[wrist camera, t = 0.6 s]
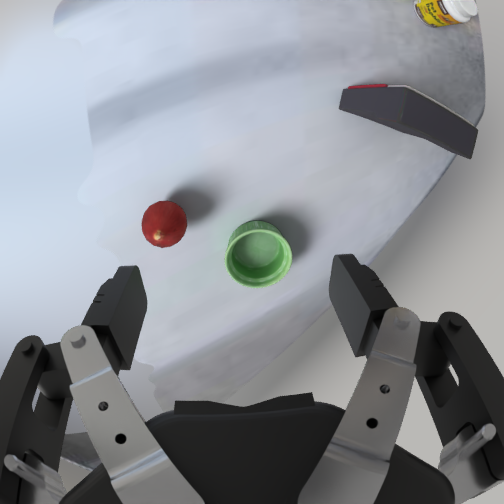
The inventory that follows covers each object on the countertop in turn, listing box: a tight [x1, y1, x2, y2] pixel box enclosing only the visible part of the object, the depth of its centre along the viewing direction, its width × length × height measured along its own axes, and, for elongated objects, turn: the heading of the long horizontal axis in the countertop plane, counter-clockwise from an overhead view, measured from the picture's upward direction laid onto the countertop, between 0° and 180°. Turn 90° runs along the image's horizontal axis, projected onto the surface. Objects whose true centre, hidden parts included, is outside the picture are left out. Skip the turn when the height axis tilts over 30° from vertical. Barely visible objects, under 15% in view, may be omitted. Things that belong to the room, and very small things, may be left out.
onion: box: [142, 201, 187, 248], centre depth 35 cm, size 6×6×8 cm
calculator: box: [339, 84, 478, 159], centre depth 27 cm, size 11×4×15 cm, turn 79°
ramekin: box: [225, 221, 292, 288], centre depth 40 cm, size 9×9×4 cm
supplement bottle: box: [414, 0, 478, 27], centre depth 20 cm, size 6×6×10 cm
